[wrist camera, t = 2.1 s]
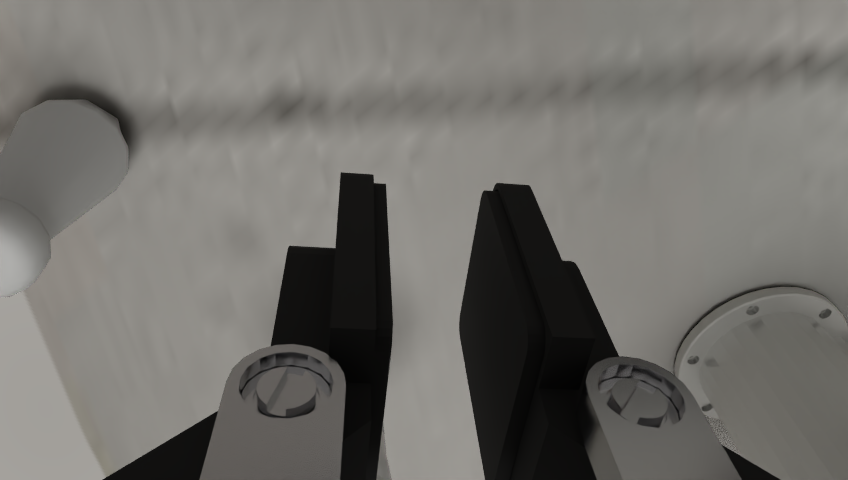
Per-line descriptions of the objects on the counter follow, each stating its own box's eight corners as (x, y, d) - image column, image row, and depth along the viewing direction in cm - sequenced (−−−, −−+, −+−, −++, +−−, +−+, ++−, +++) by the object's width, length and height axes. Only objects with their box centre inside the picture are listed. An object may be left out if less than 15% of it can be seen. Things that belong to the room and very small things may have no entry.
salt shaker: (78, 194, 40) (-28, 340, 29) (7, 112, 37) (-140, 241, 26) (161, 154, 39) (83, 289, 28) (95, 67, 36) (-21, 180, 25)
